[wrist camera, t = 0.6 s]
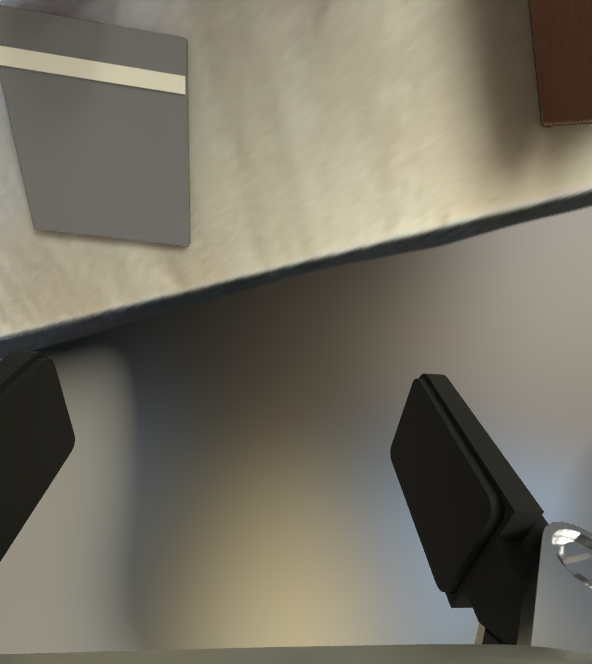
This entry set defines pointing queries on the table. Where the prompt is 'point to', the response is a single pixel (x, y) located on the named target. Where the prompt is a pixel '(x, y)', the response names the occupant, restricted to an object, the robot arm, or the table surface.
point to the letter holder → (563, 60)
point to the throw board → (99, 125)
